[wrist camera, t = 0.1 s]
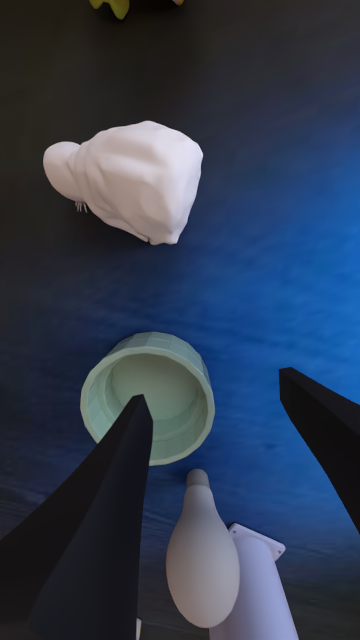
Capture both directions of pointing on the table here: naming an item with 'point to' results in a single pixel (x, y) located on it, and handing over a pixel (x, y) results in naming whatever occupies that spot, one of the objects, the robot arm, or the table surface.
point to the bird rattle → (119, 6)
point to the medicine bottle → (138, 629)
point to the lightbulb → (202, 558)
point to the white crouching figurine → (131, 178)
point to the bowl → (153, 393)
